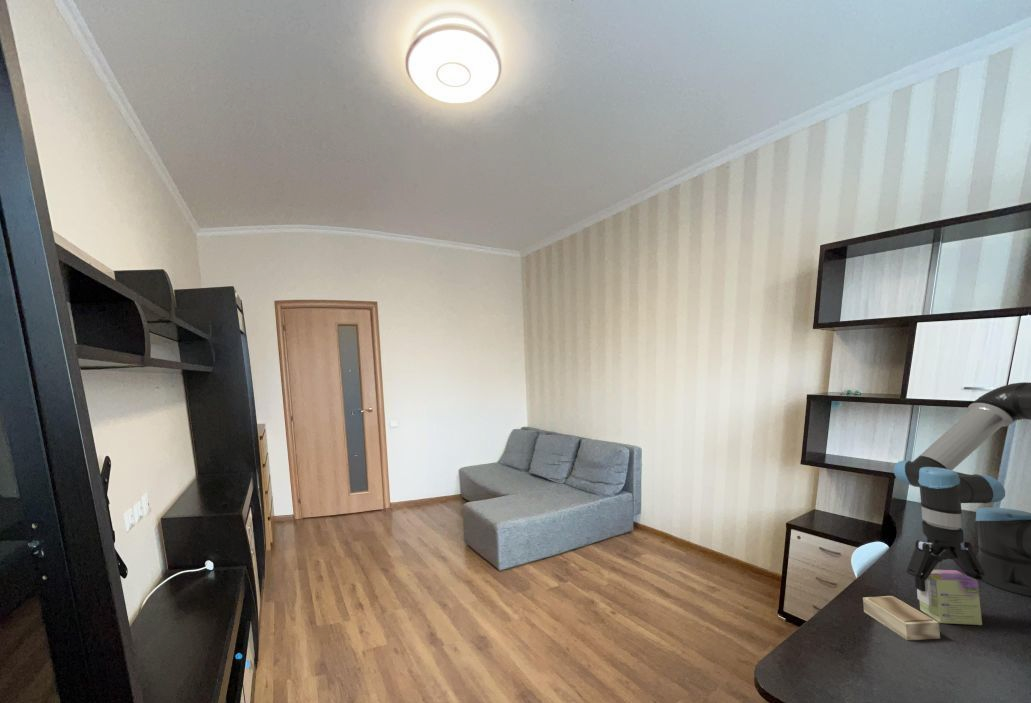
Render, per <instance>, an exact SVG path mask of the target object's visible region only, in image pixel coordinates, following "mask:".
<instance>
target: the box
mask: <svg viewBox="0 0 1031 703" xmlns="http://www.w3.org/2000/svg"><path fill="white" fill-rule="evenodd" d="M921 575H922V574H921ZM927 580H929V581H930V590H931V604H932V605H927V604H926V603H924V602H922V601H920V600H919V609H920V612H922V613H923V614H925V615H927V616H928V617H930V618H932V619H934V620H935V621H937V622H939V624H956V625H975V626H976V625H977V626H982V625H983V620H982V610H981V609H982V608H981V601H980V600H981V599H980V591H979V590H980V589H979V582H978V579H977V580H975V579H973V578H971V577H969V576H967V575H966V574H965V573H964V572H960V571H958V570H955V569H954V570H953V569H933V571H932V572H931V574H930V575H929V577H928V578H927Z"/></svg>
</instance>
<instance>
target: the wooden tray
mask: <svg viewBox="0 0 1031 703" xmlns="http://www.w3.org/2000/svg"><path fill="white" fill-rule="evenodd" d="M862 604H863V613H865V614H867V615H868V616H870V617H871V618H873V619H874V620H876V621H877V622H879V623H880V624H882V625H883V626H885V627H886V628H888V629H889V630H891V631H893V632H894V633H895V634H897V635H899V636H900V637H902V638H903V639H904V640H906V641H920V640H921V641H922V640H934V639H935V640H938V639H941V634H940V622H938V621H937V620H935V619H933V618H932V617H930V616H929V615H927V614H926V613H924V612H922V611H921V610H920V611H919V610H918V609H917V608H915V607H913V606H910V605H909V604H907V603H905V602H904V601H903V600H900V599H898V598H897V597H896V596H893V595H885V596H866V597H864V596H863V597H862Z"/></svg>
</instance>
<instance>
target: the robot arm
mask: <svg viewBox="0 0 1031 703" xmlns="http://www.w3.org/2000/svg"><path fill="white" fill-rule="evenodd" d="M967 410H968V412H967V413H966V414H964V415H963V416H962V417H961V418H960V419H959V420H958V421H957V422H956V423H954V424H953V425H952V426H951V427H950V428H948V429H947V430H946V431H945V432H944V433H942V435H941V436H939V438H937V439H936V440H935V441H934V442H933V443H932V444H931V445H929V446H928V448H926V449H925V450H924V451H923V452H922V453H921V454H919V455H918V456H917V457H916V458H915V459H914V460H913V461H911V460H899V461H897V462H896V463H895V464H894V467H893V474H894V476H895V477H896V479H897V480H899V481H900V482H902V483H903V484H906V485H910V486H913V487H915V488H919V493H920V495H919V496H920V507H921V519H922V520H923V521H922V522H921V525H922V534H924V536H925V537H926V542H925V541H921V540H918V539H916V540H915V548H914V550H913V554H912V556H911V559H910V561H909V564H908V566H907V568H906V574H908V575H910V576H912V577H914V584H915V586H914V587H915V589H916V594H917V600H918V601H919V602H920V601H922V602H924V603H926V604H927V605H932V604H931V590H930V581H929V580H927V578H928V577H929V575H930V574H931V572H932V571H933V570H935V568H936V566H937V565H938V563H942V562H943V561H944V560H945V561H946V560H952V561H954V563H955V564H956V566H958V568H959V569H960V570H961V571H962V573H963V574H965V575H967V576H969V577H971V578H973V579H975V580H977V581H978V580H979V581H982V582H984V583H986V584H989V585H991V586H993V587H996V588H999V589H1002V590H1004V591H1008V592H1011V593H1015V594H1019V595H1024V596H1028V597H1031V512H1028V511H1025V510H1019V509H1013V508H1012V509H1011V508H1004V507H1003V508H1002V507H989V506H988V507H980V508H977V509H976V511H975V522H976V523H975V525H976V533H977V534H976V535H977V543H978V544H977V545H978V554H977V556H976V555H975V553H974V551H973V545H972V543H971V542H969V541H966V540H965V539H964V530H963V529H962V528H963V527H964V523H963V514H962V513H963V512H962V504H990V503H998V502H1001V501H1002V500H1004V499H1005V496H1006V490H1005V487H1004V485H1003V484H1002V483H1001V482H1000V481H999V480H998V479H997V478H994V477H993V476H989V475H987V474H986V475H985V474H977V473H976V474H975V473H973V474H967V473H963V472H958V471H955V470H954V469H956V467H958V466H959V465H960V464H961V463H962V462H963V461H964V460H965V459H967V458H969V456H970V455H971V454H972V453H973V452H974V451H976V450H977V449H978V448H979V447H980V446H981V445H982V444H984V443H985V442H986V441H987V440H989V439H990V437H991V436H993V434H995V433H996V432H997V431H998V430H1000V429H1001V428H1002V427H1009V426H1011V425H1012V424H1014V422H1015V421H1016V422H1017V421H1019V420H1020V421H1021V420H1031V382H1028V381H1027V382H1015V383H1010V384H1004V385H1002V386H1000V387H997V388H995V389H992V390H990V391H988V392H986V393H984V394H982V395H981V396H979V397H978V398H977V399H975V400H974V401H973V402H971V404H969V405H968V407H967ZM921 574H922V575H921Z"/></svg>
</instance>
